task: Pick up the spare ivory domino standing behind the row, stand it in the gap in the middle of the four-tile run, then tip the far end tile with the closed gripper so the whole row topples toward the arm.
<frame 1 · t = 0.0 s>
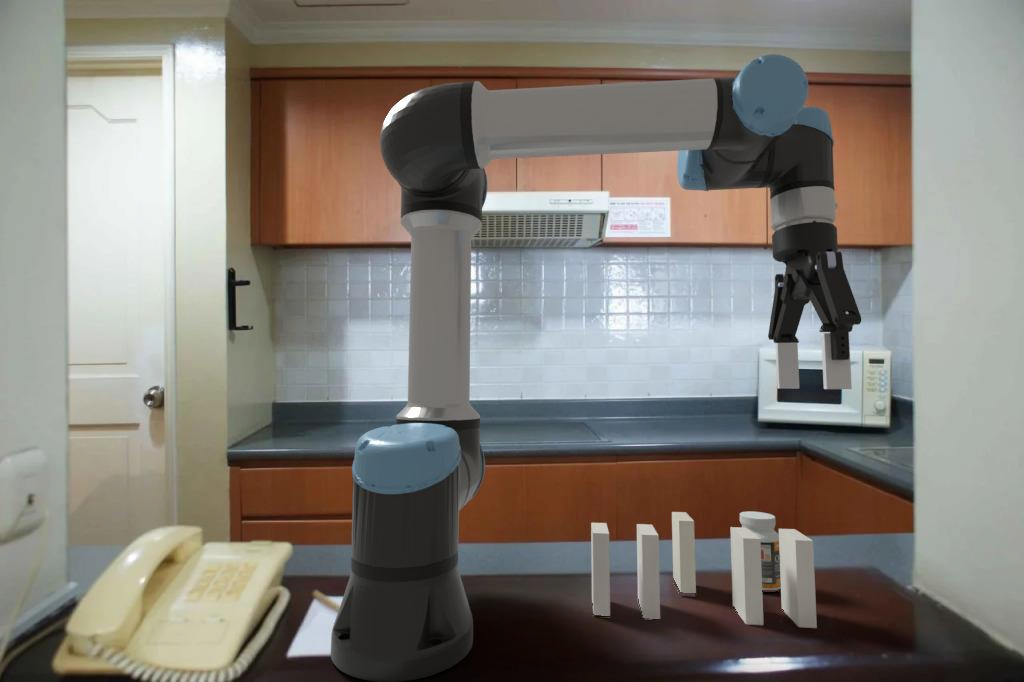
hand: (810, 389, 67), 28 cm above the counter, fingers open, 13 cm apart
domino 5: (798, 618, 64), on the counter
domino 4: (747, 615, 64), on the counter
domino 1: (600, 608, 66), on the counter
pill bottle: (760, 588, 74), on the counter
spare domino: (684, 589, 72), on the counter
domino 2: (648, 610, 65), on the counter
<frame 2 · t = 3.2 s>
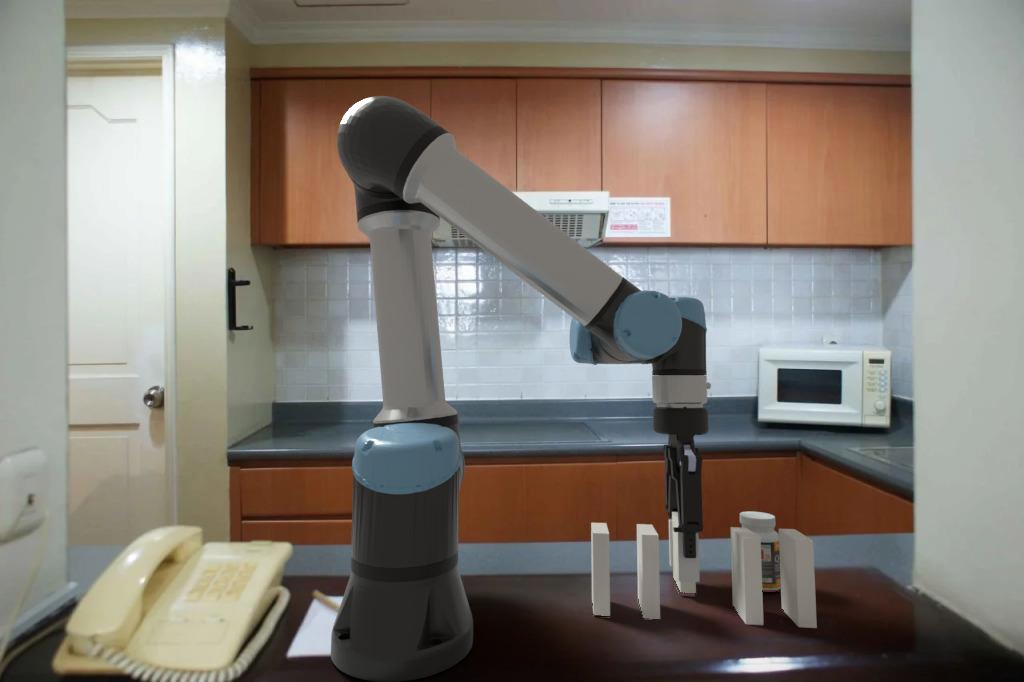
hand: (683, 572, 72), 2 cm above the counter, fingers closed on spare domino, 5 cm apart
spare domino: (684, 589, 72), on the counter, touching gripper
everything else where it was.
when the fingers open (3 cm above the counter, at t = 7.2 s): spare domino stays where it is, on the counter.
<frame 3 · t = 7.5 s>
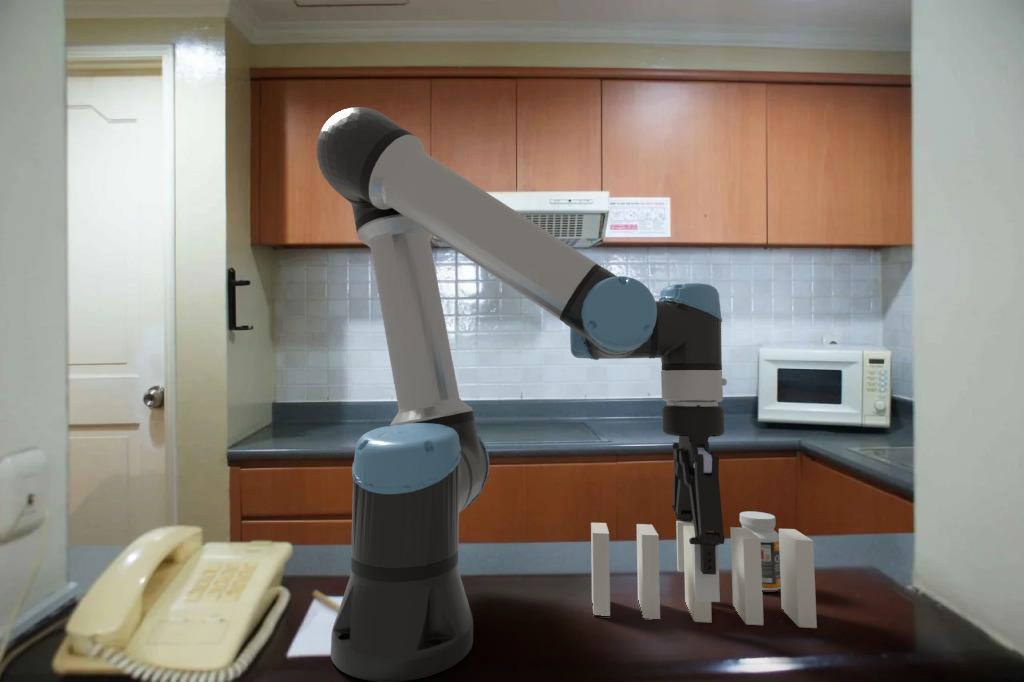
hand: (696, 584, 65), 3 cm above the counter, fingers open, 9 cm apart
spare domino: (697, 613, 65), on the counter
everything else where it was.
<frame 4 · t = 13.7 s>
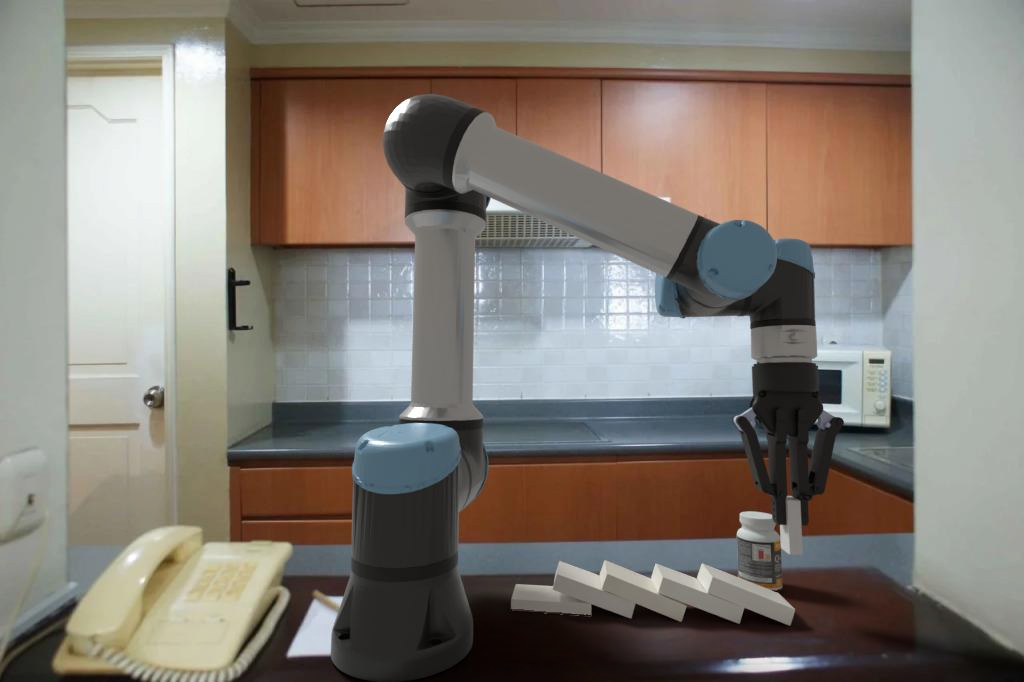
hand: (791, 551, 64), 8 cm above the counter, fingers closed
domino 5: (783, 608, 64), point 1 cm above the counter, tilted 70°, touching domino 4
domino 4: (735, 607, 64), point 1 cm above the counter, tilted 71°, touching domino 5
domino 1: (590, 603, 66), on the counter, tilted 90°, touching domino 2
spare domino: (679, 605, 65), point 1 cm above the counter, tilted 70°, touching domino 2
domino 2: (631, 602, 66), point 1 cm above the counter, tilted 73°, touching domino 1, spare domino
everything else where it was.
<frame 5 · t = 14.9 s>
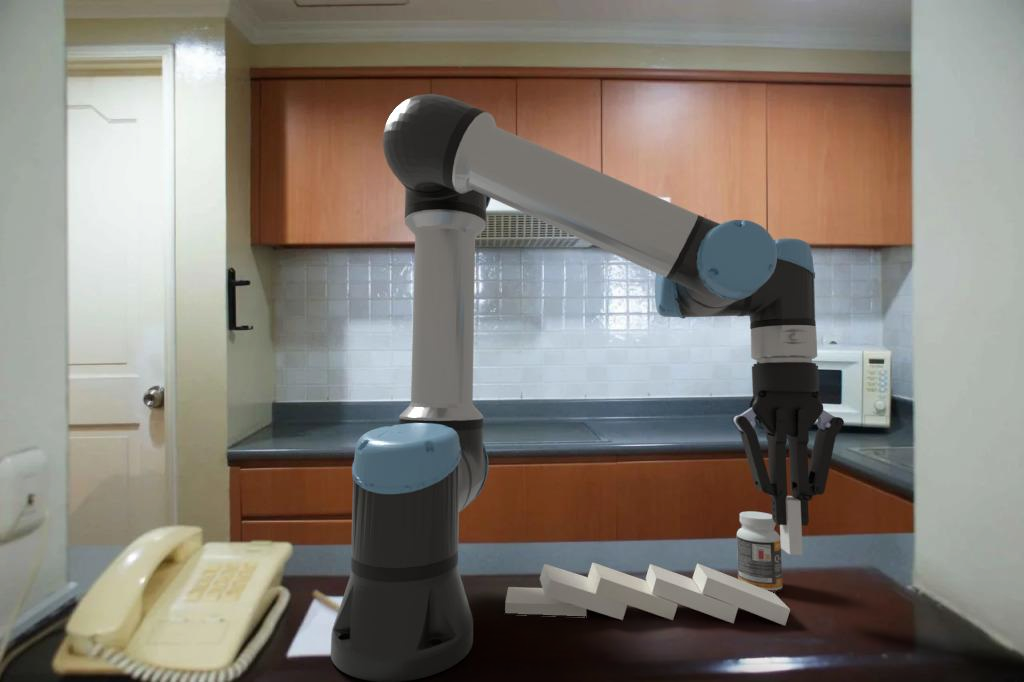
hand: (791, 551, 64), 8 cm above the counter, fingers closed
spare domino: (668, 603, 65), point 1 cm above the counter, tilted 71°, touching domino 2
domino 2: (619, 602, 65), point 1 cm above the counter, tilted 72°, touching domino 1, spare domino
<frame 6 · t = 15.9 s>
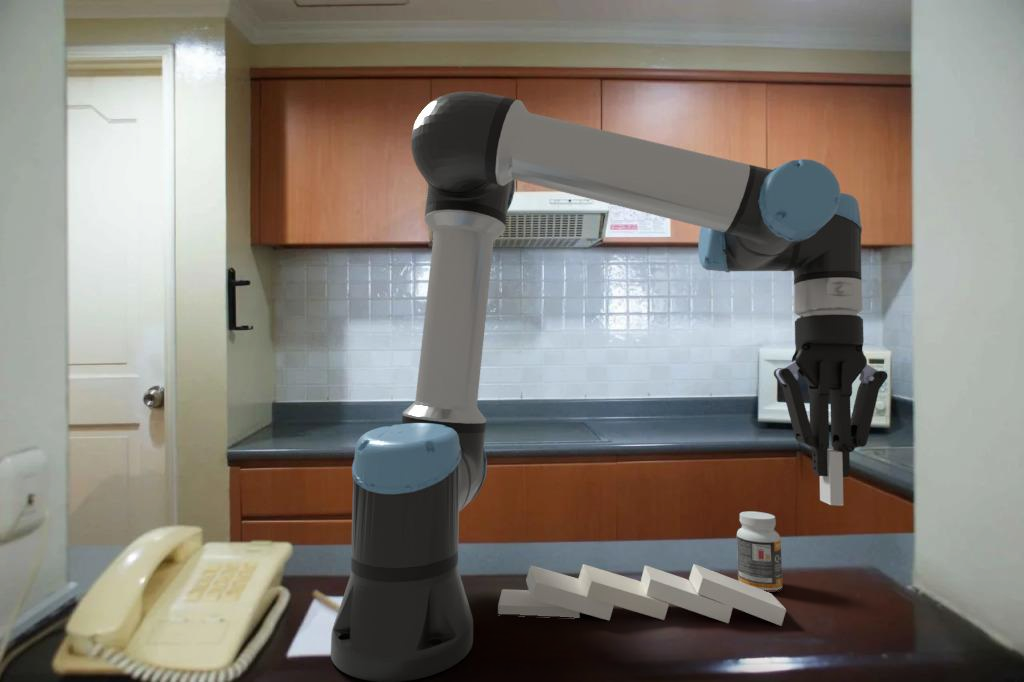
hand: (831, 502, 65), 14 cm above the counter, fingers closed
domino 5: (775, 608, 64), point 1 cm above the counter, tilted 71°, touching domino 4
domino 4: (724, 606, 65), point 1 cm above the counter, tilted 74°, touching domino 5, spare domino
domino 1: (578, 608, 66), on the counter, tilted 90°
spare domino: (659, 602, 65), point 1 cm above the counter, tilted 73°, touching domino 2, domino 4
domino 2: (606, 602, 65), point 1 cm above the counter, tilted 73°, touching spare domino
everything else where it was.
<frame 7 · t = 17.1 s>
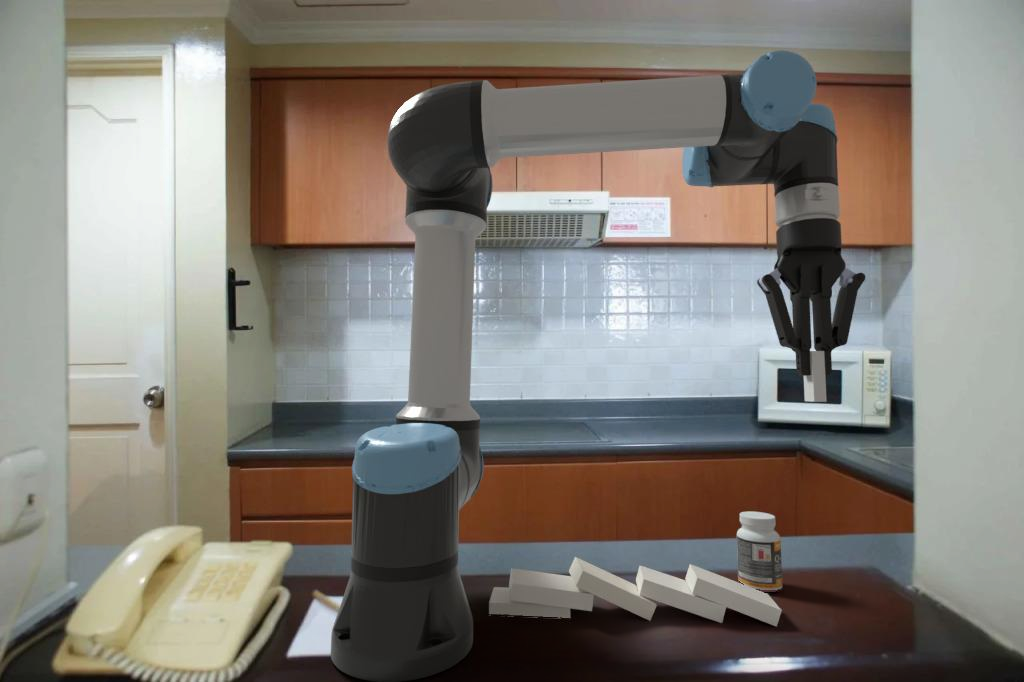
hand: (815, 401, 67), 26 cm above the counter, fingers closed
domino 5: (772, 609, 64), point 1 cm above the counter, tilted 72°, touching domino 4
domino 1: (569, 606, 66), on the counter, tilted 90°, touching domino 2
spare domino: (646, 604, 65), point 1 cm above the counter, tilted 65°, touching domino 2, domino 4
domino 2: (589, 594, 65), point 2 cm above the counter, tilted 82°, touching domino 1, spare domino
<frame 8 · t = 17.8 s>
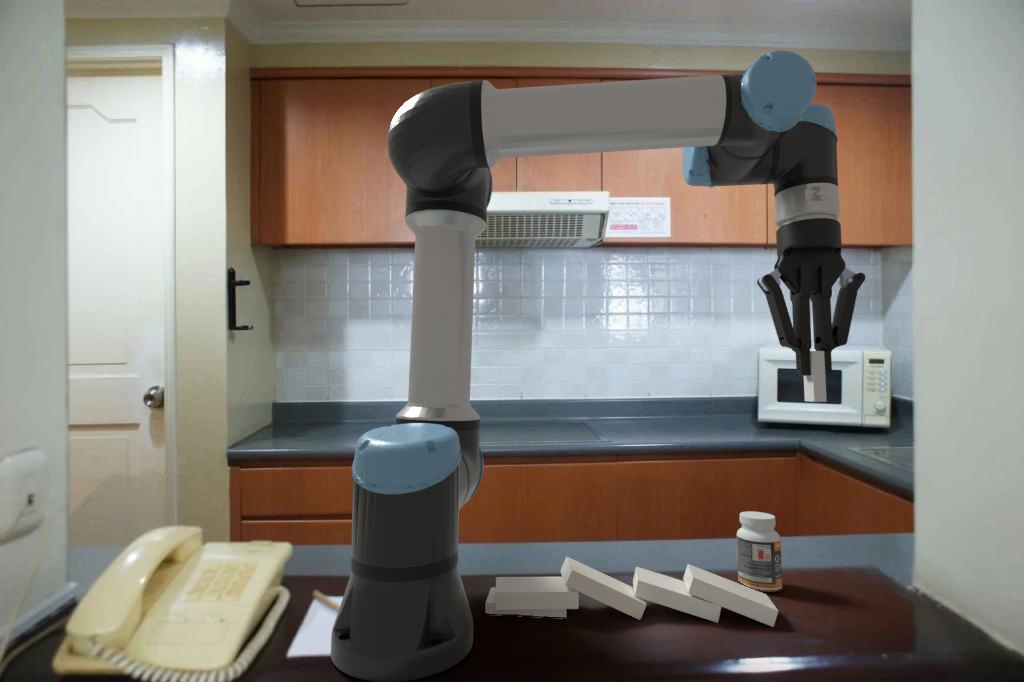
hand: (815, 401, 67), 26 cm above the counter, fingers closed
domino 4: (715, 605, 65), point 1 cm above the counter, tilted 76°, touching domino 5
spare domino: (637, 603, 65), point 1 cm above the counter, tilted 66°, touching domino 2
domino 2: (575, 592, 65), point 2 cm above the counter, tilted 90°, touching domino 1, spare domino
at the end: domino 1 tilted 90°; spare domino tilted 66°; the gripper is holding nothing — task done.
